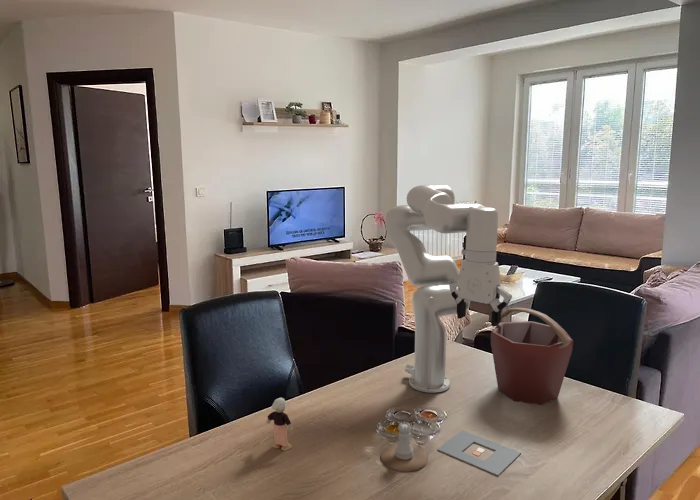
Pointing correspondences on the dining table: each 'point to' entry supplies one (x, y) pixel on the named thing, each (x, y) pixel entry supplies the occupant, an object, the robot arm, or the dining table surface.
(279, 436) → the grandmother figurine
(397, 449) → the rook chess piece
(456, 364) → the dining table surface
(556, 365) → the bucket
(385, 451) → the walnut coaster
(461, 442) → the grey frame plate
